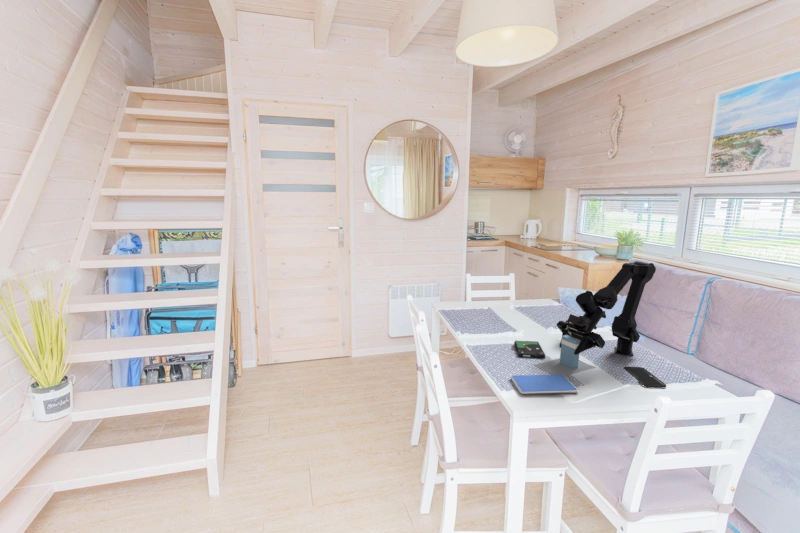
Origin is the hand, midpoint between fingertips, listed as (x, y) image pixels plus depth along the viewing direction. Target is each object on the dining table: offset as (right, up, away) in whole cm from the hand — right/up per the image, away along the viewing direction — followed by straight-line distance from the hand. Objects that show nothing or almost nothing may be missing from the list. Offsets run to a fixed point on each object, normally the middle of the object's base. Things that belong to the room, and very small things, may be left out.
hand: (567, 350), depth 150 cm
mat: (-1, -7, +1) cm, 7 cm away
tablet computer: (-15, -9, -15) cm, 23 cm away
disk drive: (-10, -5, +16) cm, 19 cm away
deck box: (+1, -6, +2) cm, 6 cm away
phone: (+25, -9, -7) cm, 27 cm away
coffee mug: (+15, -2, +27) cm, 31 cm away
